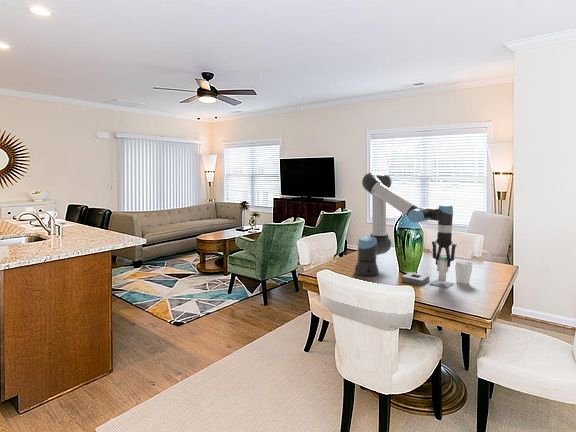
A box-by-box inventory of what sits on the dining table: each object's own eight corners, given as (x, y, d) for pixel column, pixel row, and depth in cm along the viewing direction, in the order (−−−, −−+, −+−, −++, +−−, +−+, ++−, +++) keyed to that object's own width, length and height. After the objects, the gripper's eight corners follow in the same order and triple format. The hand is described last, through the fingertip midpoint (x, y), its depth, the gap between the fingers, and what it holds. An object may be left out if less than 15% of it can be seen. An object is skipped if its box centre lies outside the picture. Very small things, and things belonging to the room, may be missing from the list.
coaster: (429, 284, 212) (429, 283, 211) (436, 280, 219) (436, 279, 219) (447, 288, 205) (447, 287, 205) (453, 284, 212) (453, 283, 212)
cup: (461, 285, 210) (463, 265, 208) (450, 280, 218) (452, 261, 217) (474, 284, 212) (476, 264, 211) (463, 279, 221) (464, 260, 219)
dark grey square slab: (401, 281, 218) (401, 276, 218) (410, 276, 227) (410, 272, 226) (421, 285, 210) (421, 280, 210) (429, 280, 219) (429, 275, 218)
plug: (436, 280, 211) (437, 257, 210) (439, 278, 215) (440, 255, 213) (444, 282, 208) (445, 258, 206) (447, 280, 211) (449, 257, 209)
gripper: (427, 231, 211) (425, 270, 214) (458, 234, 199) (455, 275, 202) (432, 229, 216) (430, 267, 219) (462, 232, 205) (460, 272, 208)
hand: (442, 271), depth 211 cm, fingers closed on plug, 4 cm apart
